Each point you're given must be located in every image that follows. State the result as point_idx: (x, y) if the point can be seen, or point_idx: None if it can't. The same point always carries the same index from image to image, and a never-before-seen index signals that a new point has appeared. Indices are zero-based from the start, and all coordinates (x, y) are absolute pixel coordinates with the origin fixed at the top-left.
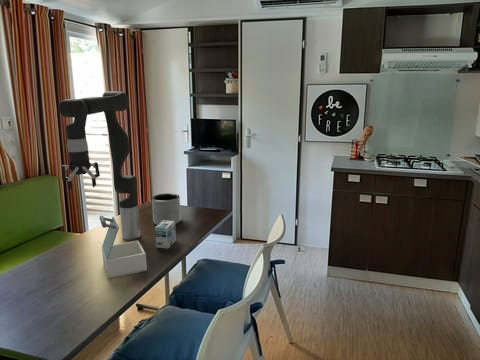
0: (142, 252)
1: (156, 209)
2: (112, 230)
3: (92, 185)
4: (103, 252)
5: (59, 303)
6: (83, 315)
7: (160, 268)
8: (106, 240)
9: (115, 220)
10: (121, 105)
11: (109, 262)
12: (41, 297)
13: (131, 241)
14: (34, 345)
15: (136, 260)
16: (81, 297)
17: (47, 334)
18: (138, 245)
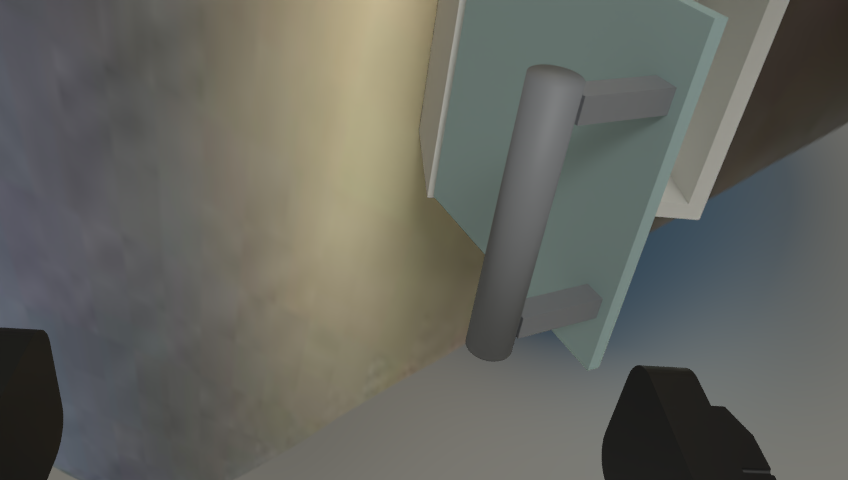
0: (692, 192)
1: None
2: (575, 192)
3: (641, 404)
4: (455, 32)
5: (137, 239)
6: (246, 370)
7: (732, 168)
8: (515, 33)
9: (672, 165)
10: None
11: None
12: (26, 132)
13: None
14: (69, 444)
15: None
16: (248, 240)
17: (108, 413)
18: (748, 47)
